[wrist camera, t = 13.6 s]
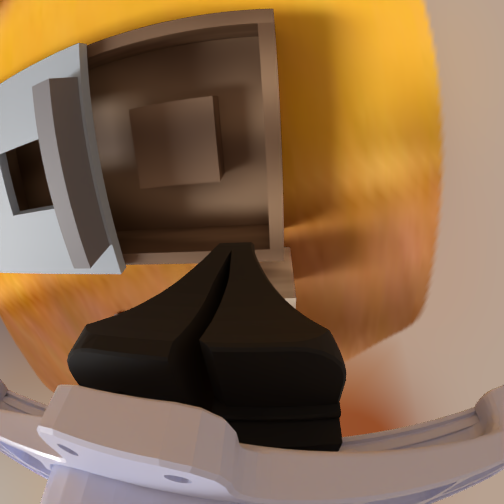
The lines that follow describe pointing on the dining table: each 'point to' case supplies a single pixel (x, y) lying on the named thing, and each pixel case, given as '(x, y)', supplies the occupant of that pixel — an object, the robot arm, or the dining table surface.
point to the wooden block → (282, 276)
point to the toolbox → (183, 138)
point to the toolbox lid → (56, 173)
